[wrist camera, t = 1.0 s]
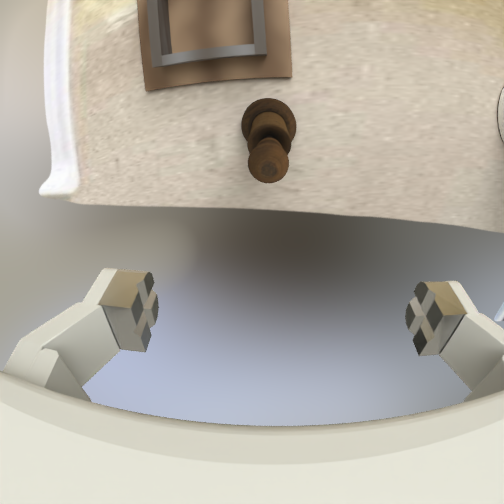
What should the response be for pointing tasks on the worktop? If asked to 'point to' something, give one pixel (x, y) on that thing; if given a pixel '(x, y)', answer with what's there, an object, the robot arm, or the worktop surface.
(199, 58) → the holder board
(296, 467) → the robot arm
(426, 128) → the worktop surface
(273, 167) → the wooden pepper mill
